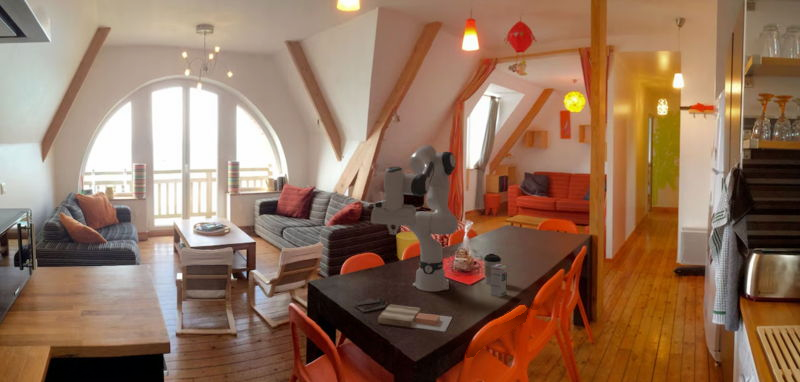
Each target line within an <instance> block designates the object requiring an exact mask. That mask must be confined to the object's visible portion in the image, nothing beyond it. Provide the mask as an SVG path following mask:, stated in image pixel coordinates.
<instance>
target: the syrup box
mask: <svg viewBox="0 0 800 382" xmlns="http://www.w3.org/2000/svg"><path fill="white" fill-rule="evenodd" d="M507 277H508V266H507V265H505V264H501V263H500V264H497V265H494V266H492V267H491V285H490V295H491V296H495V297H497V298H498V297H499V298H501V297H503V296H506V295H507V286H508V285H507V284H508V283H507V280H508V279H507Z"/></svg>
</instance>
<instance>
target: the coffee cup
mask: <svg viewBox="0 0 800 382" xmlns="http://www.w3.org/2000/svg"><path fill="white" fill-rule="evenodd" d="M483 261H484V264H483V269H484V270H483V271H484V272H483V273H484V283H485V284H486V285H490V286H491V267H492V266H494V265H497V264H500V265H501V262H502V258H501V257H500V256H499V255H497V254H495V253H488V254H487V255H485V256H484V258H483Z"/></svg>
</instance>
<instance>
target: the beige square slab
mask: <svg viewBox="0 0 800 382" xmlns="http://www.w3.org/2000/svg"><path fill="white" fill-rule="evenodd" d="M418 313H422V312H421V307H417V306H416V307H413V306H406V305H399V304H391V303H390V304H389V305H387V307H385V309H384V310H383V311H382V312H381V313H380V315H378V317H377V323H378V324H383V325H391V326H399V327H404V326H405V328H411V326H412V324H413V323H414V322H415V318H416V316H417V315H418Z"/></svg>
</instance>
